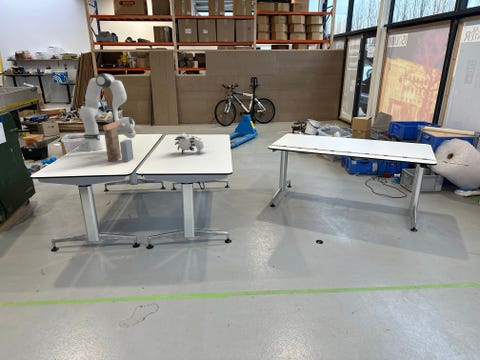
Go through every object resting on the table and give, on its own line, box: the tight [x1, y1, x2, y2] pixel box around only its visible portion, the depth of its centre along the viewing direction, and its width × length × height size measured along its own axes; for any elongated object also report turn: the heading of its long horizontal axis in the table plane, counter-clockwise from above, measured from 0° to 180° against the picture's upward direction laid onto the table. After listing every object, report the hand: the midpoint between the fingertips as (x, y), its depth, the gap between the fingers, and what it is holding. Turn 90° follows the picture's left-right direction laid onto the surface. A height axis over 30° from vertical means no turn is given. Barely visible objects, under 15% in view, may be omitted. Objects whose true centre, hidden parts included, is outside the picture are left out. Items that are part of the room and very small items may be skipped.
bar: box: [102, 121, 120, 131], centre depth 266 cm, size 3×22×3 cm, turn 172°
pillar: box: [103, 127, 122, 162], centre depth 268 cm, size 6×10×26 cm, turn 172°
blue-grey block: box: [119, 139, 135, 163], centre depth 268 cm, size 5×10×16 cm, turn 173°
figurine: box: [174, 132, 210, 155], centre depth 292 cm, size 17×16×30 cm
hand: (116, 123), depth 273 cm, fingers open, 6 cm apart
